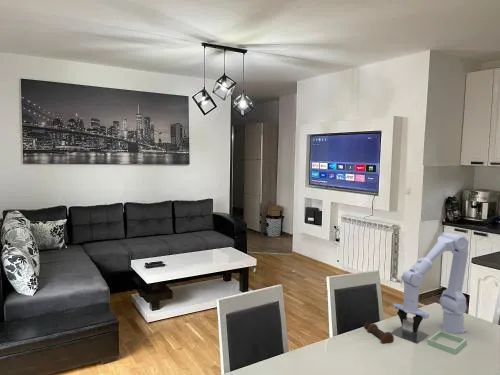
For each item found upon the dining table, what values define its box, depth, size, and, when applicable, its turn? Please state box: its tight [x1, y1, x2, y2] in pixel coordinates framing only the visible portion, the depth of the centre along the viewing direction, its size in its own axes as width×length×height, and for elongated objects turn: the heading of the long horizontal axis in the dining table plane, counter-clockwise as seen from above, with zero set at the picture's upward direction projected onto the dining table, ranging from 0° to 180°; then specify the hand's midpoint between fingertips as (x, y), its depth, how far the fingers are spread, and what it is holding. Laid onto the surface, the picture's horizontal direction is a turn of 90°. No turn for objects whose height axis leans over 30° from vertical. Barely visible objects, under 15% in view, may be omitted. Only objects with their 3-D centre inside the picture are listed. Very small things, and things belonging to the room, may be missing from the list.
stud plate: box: [390, 325, 430, 345], centre depth 157 cm, size 12×12×3 cm
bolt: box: [363, 322, 395, 345], centre depth 156 cm, size 6×5×15 cm
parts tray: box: [426, 330, 468, 355], centre depth 148 cm, size 12×10×3 cm
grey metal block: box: [401, 316, 417, 338], centre depth 157 cm, size 4×4×6 cm
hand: (409, 329), depth 157 cm, fingers closed on grey metal block, 4 cm apart
